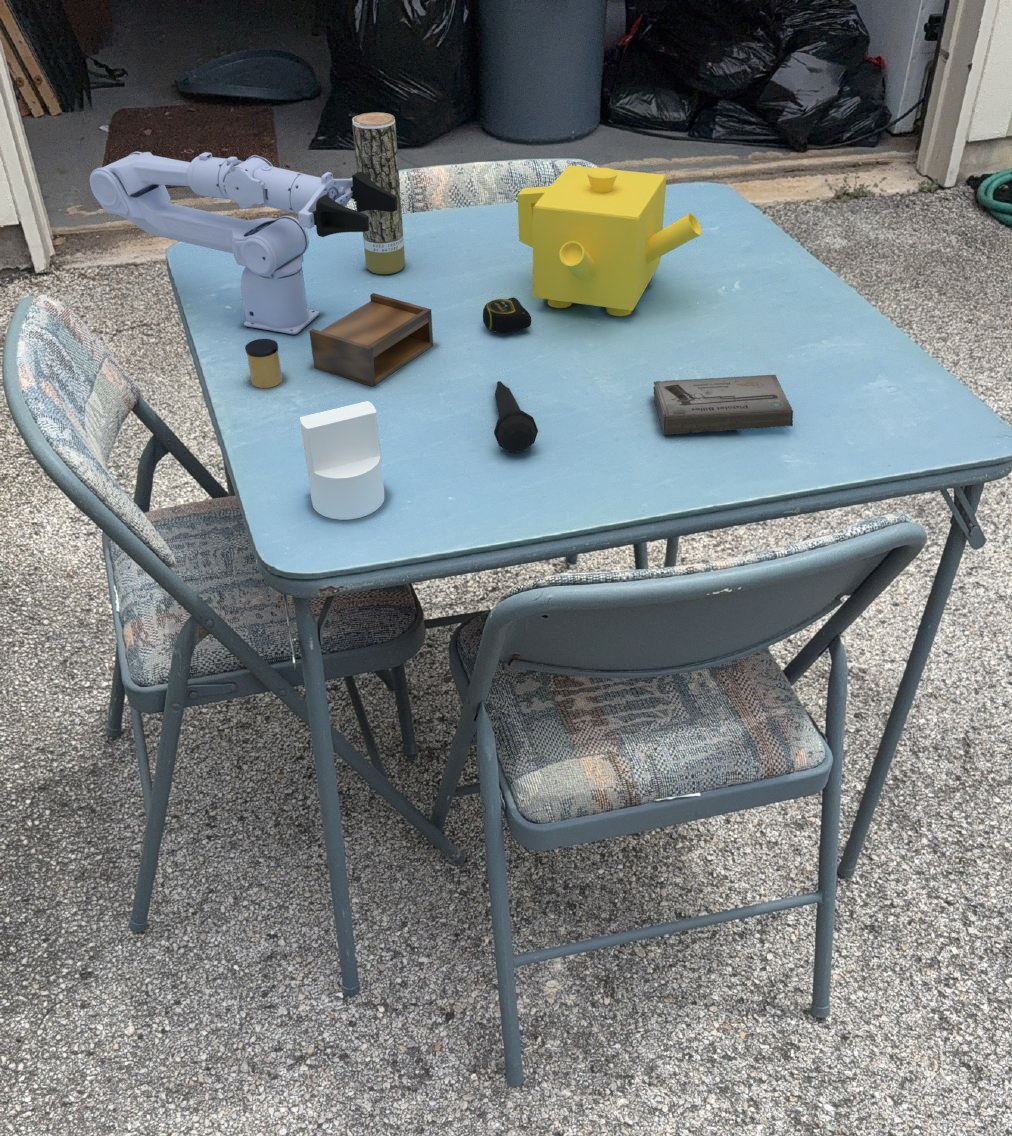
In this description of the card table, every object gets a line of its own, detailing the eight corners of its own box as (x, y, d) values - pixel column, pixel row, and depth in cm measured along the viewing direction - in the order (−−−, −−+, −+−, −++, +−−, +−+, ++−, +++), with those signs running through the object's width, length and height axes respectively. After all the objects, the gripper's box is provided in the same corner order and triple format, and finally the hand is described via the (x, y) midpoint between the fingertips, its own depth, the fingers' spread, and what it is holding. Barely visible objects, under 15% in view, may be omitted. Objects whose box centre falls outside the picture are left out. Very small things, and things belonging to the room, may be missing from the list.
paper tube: (413, 265, 197) (403, 116, 181) (389, 279, 192) (377, 128, 177) (382, 257, 200) (369, 110, 184) (358, 270, 195) (343, 121, 180)
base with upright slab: (325, 527, 136) (313, 441, 129) (302, 489, 143) (290, 406, 135) (395, 508, 139) (387, 423, 132) (370, 471, 146) (361, 389, 138)
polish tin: (245, 385, 164) (238, 350, 161) (261, 371, 167) (255, 336, 164) (272, 390, 163) (267, 355, 159) (288, 376, 166) (283, 341, 163)
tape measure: (532, 334, 176) (533, 311, 173) (490, 340, 174) (490, 318, 172) (518, 315, 181) (518, 293, 178) (477, 322, 179) (477, 299, 177)
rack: (313, 367, 168) (309, 330, 164) (376, 328, 178) (373, 292, 174) (372, 386, 163) (368, 349, 160) (433, 345, 173) (431, 309, 169)
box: (792, 430, 151) (795, 409, 149) (663, 436, 151) (664, 416, 149) (775, 392, 160) (777, 372, 158) (652, 398, 160) (653, 378, 158)
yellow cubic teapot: (671, 355, 170) (682, 224, 157) (485, 329, 177) (482, 201, 165) (714, 264, 196) (727, 145, 183) (551, 244, 203) (552, 129, 191)
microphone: (488, 407, 164) (506, 466, 147) (474, 372, 161) (491, 429, 144) (523, 393, 164) (546, 451, 147) (510, 358, 161) (531, 413, 144)
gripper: (269, 185, 157) (352, 205, 153) (327, 150, 167) (406, 168, 163) (274, 233, 162) (355, 254, 158) (330, 196, 172) (408, 215, 167)
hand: (382, 213), depth 160 cm, fingers open, 7 cm apart
